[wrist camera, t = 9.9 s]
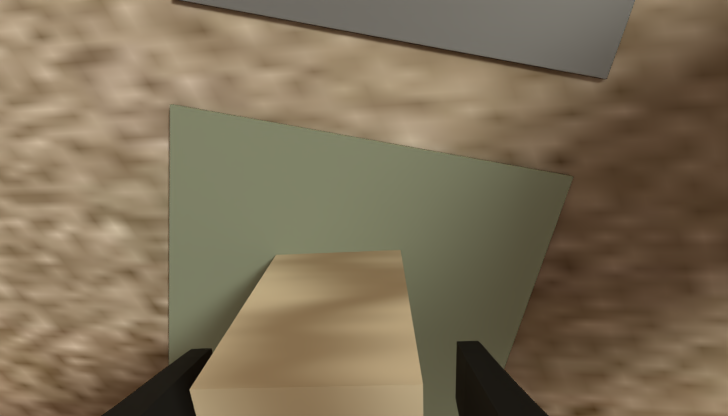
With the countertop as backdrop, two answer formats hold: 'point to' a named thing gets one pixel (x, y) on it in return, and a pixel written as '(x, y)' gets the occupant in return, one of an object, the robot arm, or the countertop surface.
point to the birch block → (318, 342)
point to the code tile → (473, 26)
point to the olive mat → (354, 230)
